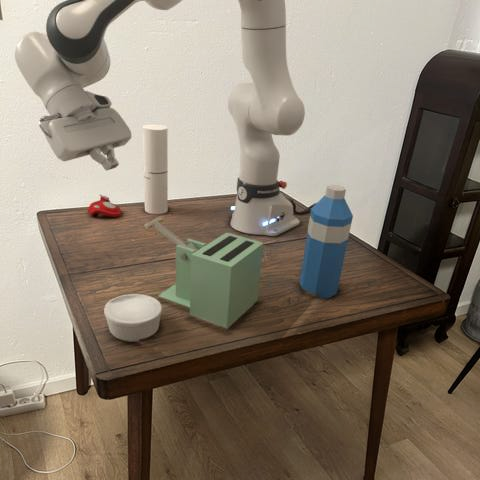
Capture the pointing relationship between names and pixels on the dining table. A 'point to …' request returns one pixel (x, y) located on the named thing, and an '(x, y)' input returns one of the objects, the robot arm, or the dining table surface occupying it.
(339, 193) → the water bottle
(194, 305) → the toaster
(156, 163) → the cylindrical container
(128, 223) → the dining table surface
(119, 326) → the ramekin
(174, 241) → the lever
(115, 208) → the tracker holder
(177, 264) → the switch bracket
